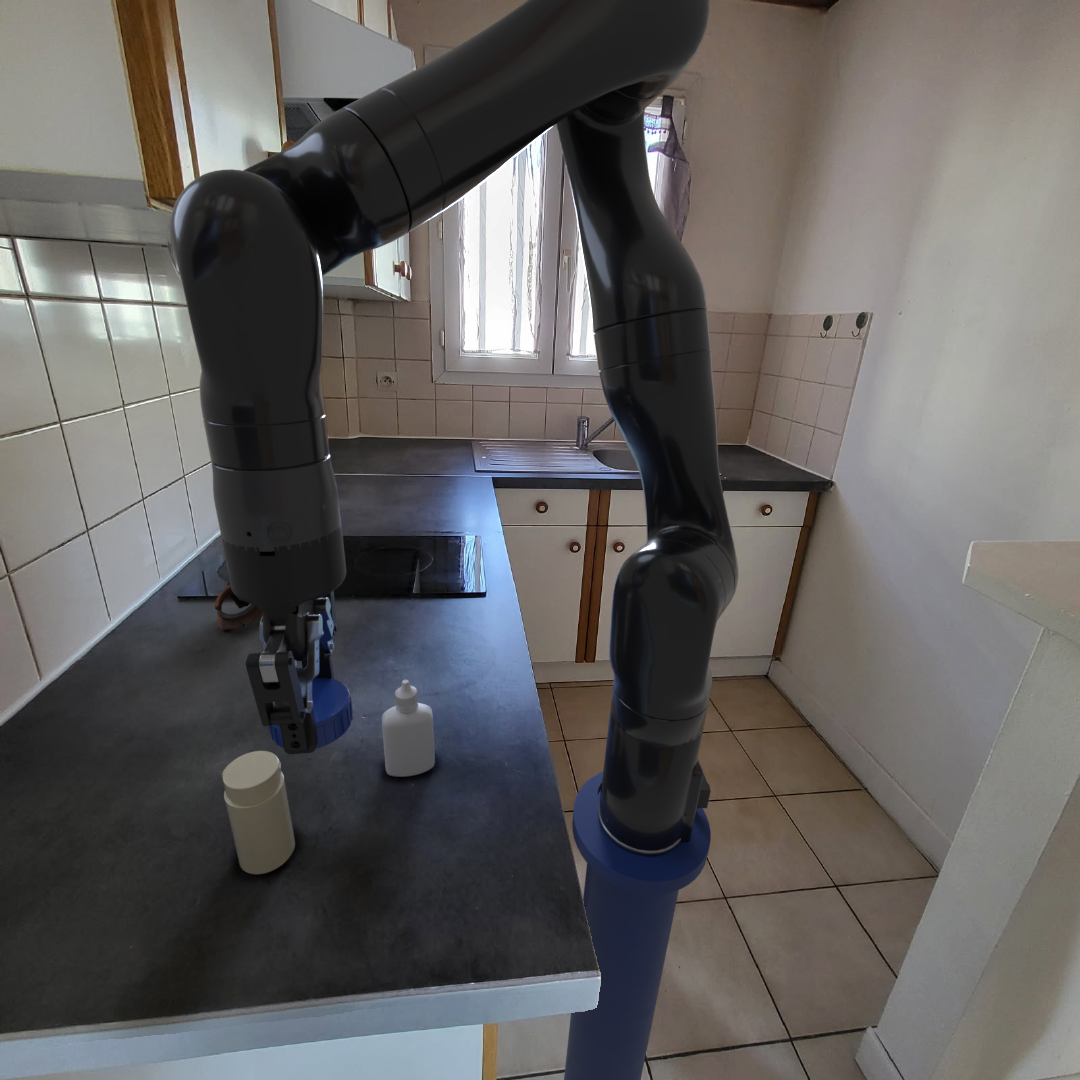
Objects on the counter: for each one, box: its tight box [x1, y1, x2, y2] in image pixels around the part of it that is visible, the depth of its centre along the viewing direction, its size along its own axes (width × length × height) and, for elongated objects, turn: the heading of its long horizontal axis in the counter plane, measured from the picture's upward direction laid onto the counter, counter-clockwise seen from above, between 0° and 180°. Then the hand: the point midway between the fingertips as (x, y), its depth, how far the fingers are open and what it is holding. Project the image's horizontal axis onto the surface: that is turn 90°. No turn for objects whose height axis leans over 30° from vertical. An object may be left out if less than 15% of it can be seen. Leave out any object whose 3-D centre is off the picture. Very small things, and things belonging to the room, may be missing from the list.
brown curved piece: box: [214, 579, 263, 632], centre depth 93 cm, size 12×10×8 cm
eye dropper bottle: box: [381, 679, 436, 778], centre depth 63 cm, size 4×6×12 cm
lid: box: [268, 678, 354, 750], centre depth 44 cm, size 6×6×2 cm
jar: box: [221, 750, 296, 875], centre depth 53 cm, size 5×5×10 cm
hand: (312, 719), depth 44 cm, fingers closed on lid, 6 cm apart
